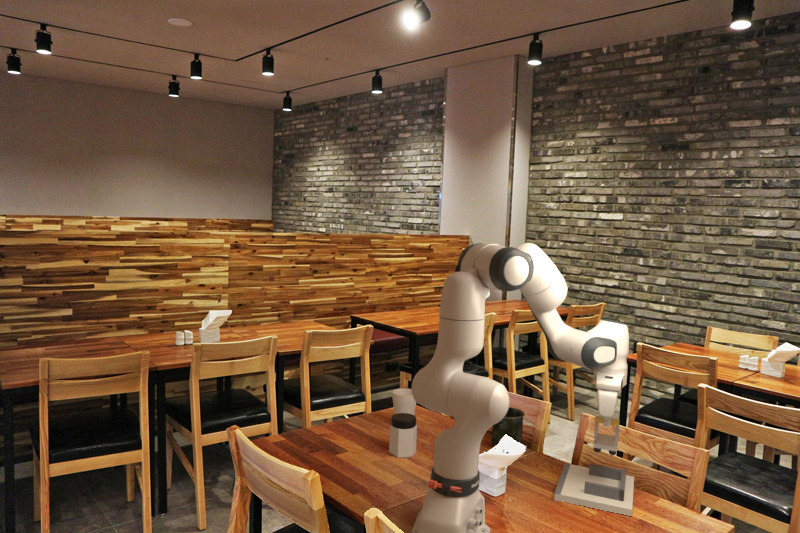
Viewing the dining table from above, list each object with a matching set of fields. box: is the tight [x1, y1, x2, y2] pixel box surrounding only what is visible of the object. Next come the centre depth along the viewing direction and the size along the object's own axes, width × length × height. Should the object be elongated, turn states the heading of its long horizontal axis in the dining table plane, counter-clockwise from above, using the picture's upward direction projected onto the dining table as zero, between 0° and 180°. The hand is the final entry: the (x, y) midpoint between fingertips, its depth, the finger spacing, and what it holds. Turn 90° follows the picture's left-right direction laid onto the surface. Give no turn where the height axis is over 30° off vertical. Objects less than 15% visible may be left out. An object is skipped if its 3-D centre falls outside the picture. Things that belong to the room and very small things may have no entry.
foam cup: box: [391, 387, 417, 416], centre depth 210 cm, size 10×9×13 cm
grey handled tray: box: [592, 415, 620, 457], centre depth 162 cm, size 9×6×9 cm
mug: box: [491, 406, 525, 448], centre depth 193 cm, size 11×15×12 cm
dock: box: [553, 462, 635, 517], centre depth 164 cm, size 22×20×5 cm
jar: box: [388, 413, 418, 459], centre depth 187 cm, size 9×8×12 cm
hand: (607, 424), depth 162 cm, fingers closed on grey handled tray
